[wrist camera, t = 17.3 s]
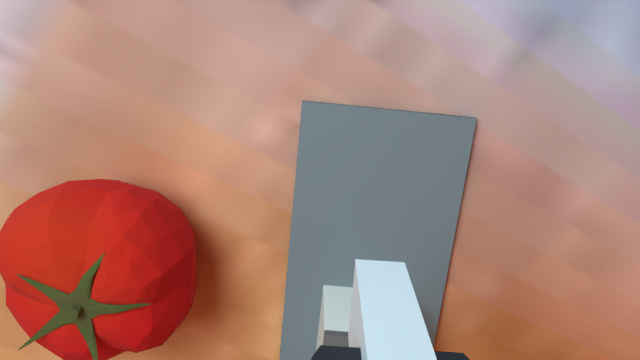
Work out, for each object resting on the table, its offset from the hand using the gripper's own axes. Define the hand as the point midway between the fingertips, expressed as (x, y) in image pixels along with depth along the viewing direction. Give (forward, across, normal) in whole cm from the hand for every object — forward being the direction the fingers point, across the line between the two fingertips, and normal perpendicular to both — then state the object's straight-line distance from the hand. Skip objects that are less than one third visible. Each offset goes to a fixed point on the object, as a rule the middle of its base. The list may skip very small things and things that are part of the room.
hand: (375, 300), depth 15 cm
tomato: (+23, -16, -9) cm, 29 cm away
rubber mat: (+23, +2, -11) cm, 26 cm away
